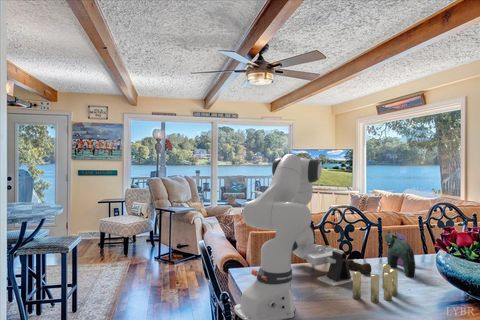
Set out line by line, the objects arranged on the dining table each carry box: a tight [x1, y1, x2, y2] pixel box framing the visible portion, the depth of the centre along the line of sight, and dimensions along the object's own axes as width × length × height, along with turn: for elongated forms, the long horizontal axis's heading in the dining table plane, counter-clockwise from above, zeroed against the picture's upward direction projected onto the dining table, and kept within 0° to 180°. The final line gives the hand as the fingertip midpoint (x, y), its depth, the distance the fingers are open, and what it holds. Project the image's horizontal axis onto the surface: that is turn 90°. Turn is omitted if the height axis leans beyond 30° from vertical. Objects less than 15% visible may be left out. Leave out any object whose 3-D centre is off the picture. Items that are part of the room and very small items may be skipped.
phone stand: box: [326, 249, 352, 281], centre depth 144 cm, size 9×6×12 cm, turn 115°
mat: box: [316, 274, 353, 287], centre depth 145 cm, size 16×10×1 cm, turn 122°
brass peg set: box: [352, 263, 399, 304], centre depth 127 cm, size 22×10×10 cm, turn 122°
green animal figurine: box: [384, 229, 416, 278], centre depth 157 cm, size 20×6×20 cm, turn 4°
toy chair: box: [396, 233, 408, 266], centre depth 170 cm, size 8×9×15 cm
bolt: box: [346, 258, 372, 276], centre depth 158 cm, size 6×5×15 cm
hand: (339, 261), depth 144 cm, fingers closed on phone stand
